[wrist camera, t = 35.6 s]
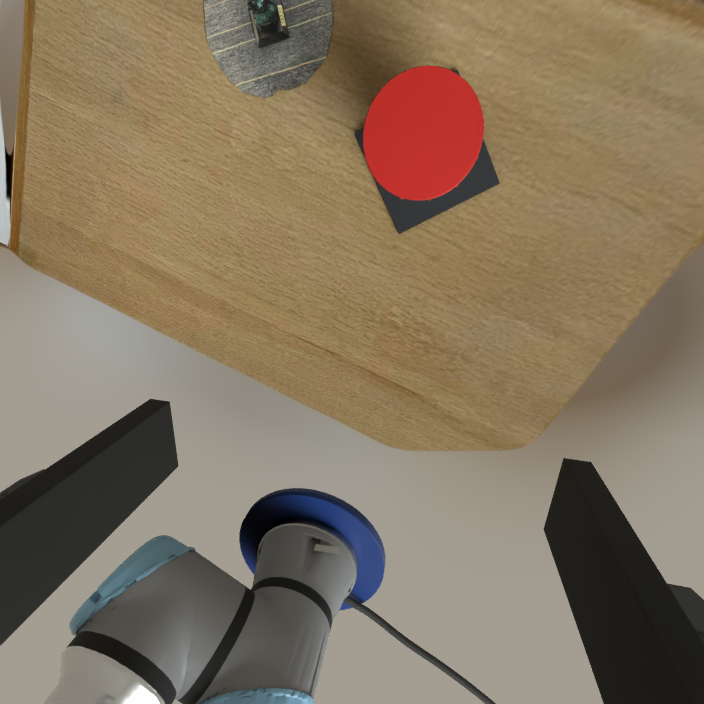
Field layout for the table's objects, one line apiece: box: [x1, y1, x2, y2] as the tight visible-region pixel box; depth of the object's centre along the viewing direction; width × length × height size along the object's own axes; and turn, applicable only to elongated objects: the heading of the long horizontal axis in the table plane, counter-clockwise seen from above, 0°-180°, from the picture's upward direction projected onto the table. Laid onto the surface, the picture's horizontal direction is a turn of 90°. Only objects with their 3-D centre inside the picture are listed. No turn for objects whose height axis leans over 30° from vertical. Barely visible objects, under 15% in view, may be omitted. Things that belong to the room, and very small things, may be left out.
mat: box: [355, 70, 499, 234], centre depth 36 cm, size 10×10×1 cm
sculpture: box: [204, 0, 333, 98], centre depth 35 cm, size 12×9×8 cm
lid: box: [363, 66, 484, 201], centre depth 25 cm, size 8×8×2 cm
